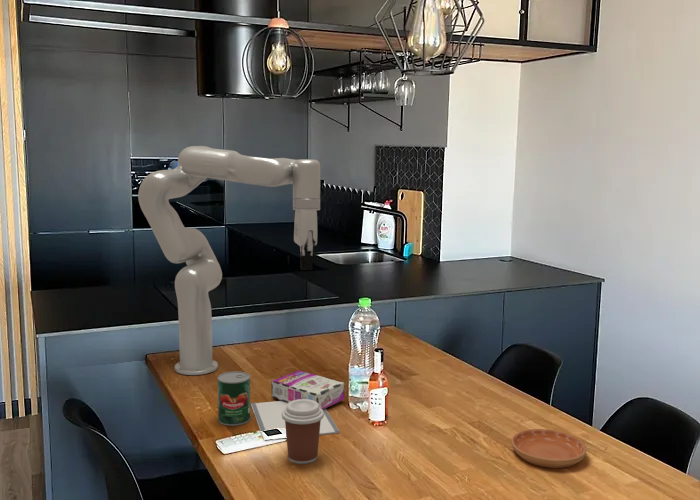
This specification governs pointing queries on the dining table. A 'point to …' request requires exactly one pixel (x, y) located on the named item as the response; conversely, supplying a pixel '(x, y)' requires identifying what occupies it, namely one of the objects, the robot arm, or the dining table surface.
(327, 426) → the mat
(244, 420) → the canned tomato
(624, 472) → the dining table surface
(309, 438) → the coffee cup
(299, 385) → the candy bar box
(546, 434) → the saucer
